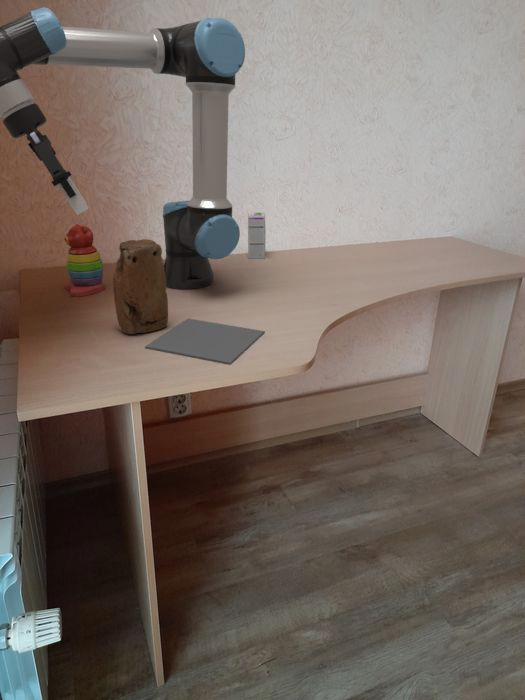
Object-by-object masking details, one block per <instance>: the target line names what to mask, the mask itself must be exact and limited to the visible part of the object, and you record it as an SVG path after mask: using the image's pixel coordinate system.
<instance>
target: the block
mask: <svg viewBox="0 0 525 700" xmlns="http://www.w3.org/2000/svg"><path fill="white" fill-rule="evenodd" d="M118 249H119V251H120V254H119V256H118V257H119V258H118V259H117V262H116V266H115V267H114V268H115V269H114V272H113V277H112V283H113V297H114V306H115V314H116V318H117V322H118V326H119V327H120V330H121V332H123V333H125V334H126V335H127V334H128V335H136V334H138V333H141V334H145V333H149V332H150V333H151V332H154V331H158V330H161V329H163V328H165V327H166V326H167V325H168V323H169V301H168V293H167V286H166V278H165V270H164V263H165V262H164V258H163V257H162V253H163V249H162V247H161V245H160V244H158V243H157V242H156V241H154V240H153V239H152V240H151V239H147V238H146V239H145V238H144V239H139V240H135V239H133V240H132V239H131V240H129V239H128V240H126V241H122V242H120V243H119V247H118Z"/></svg>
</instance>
